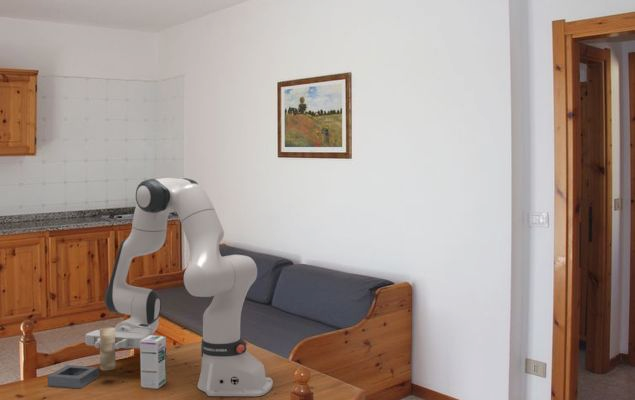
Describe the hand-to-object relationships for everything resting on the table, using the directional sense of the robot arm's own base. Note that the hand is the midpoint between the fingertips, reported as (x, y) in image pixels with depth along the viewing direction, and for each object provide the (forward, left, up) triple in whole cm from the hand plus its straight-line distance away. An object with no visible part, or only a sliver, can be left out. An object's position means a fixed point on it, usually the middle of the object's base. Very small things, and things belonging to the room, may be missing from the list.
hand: (106, 346), depth 190 cm
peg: (0, -1, -7) cm, 7 cm away
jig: (+10, +1, -11) cm, 15 cm away
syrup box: (-15, -1, -12) cm, 19 cm away
